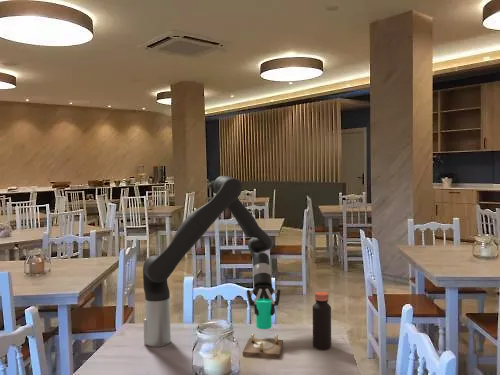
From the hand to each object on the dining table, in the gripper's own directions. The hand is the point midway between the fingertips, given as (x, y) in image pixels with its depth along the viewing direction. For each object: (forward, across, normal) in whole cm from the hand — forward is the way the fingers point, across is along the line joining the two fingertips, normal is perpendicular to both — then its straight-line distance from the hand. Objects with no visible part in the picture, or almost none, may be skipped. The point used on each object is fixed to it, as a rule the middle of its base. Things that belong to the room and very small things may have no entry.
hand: (265, 314), depth 174 cm
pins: (+14, -2, -2) cm, 14 cm away
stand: (+14, -2, 0) cm, 14 cm away
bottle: (+14, +20, 0) cm, 24 cm away
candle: (+3, 0, +5) cm, 6 cm away
